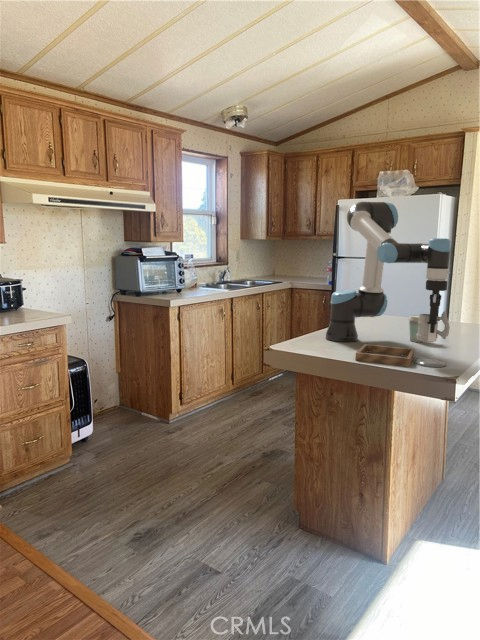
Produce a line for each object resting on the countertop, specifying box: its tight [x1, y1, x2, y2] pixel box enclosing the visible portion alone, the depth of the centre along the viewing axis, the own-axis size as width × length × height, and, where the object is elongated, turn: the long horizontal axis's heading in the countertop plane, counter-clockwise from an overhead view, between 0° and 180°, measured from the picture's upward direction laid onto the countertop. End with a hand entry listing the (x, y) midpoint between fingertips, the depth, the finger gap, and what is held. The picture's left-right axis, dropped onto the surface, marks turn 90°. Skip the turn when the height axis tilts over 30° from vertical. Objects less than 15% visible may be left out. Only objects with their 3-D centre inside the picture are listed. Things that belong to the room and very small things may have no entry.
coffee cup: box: [408, 314, 424, 343], centre depth 228 cm, size 9×8×12 cm
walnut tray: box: [355, 343, 416, 367], centre depth 194 cm, size 20×18×3 cm
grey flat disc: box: [414, 358, 446, 368], centre depth 186 cm, size 11×11×1 cm
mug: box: [416, 310, 451, 343], centre depth 184 cm, size 8×12×12 cm, turn 57°
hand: (432, 339), depth 185 cm, fingers closed on mug, 7 cm apart
